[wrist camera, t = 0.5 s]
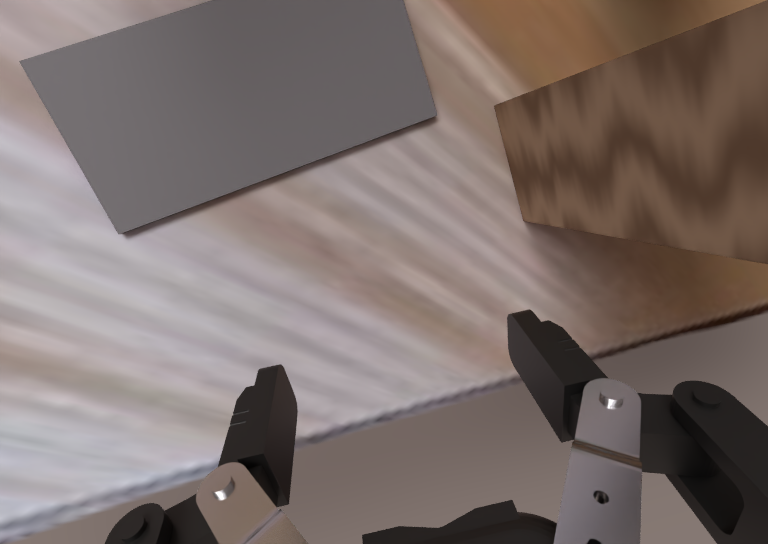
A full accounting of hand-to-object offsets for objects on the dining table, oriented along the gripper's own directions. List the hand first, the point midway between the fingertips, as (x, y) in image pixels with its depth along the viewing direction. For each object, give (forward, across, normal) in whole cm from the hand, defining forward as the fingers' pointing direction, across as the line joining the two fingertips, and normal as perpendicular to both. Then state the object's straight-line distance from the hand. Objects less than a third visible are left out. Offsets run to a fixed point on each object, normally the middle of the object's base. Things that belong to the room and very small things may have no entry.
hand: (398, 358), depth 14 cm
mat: (+27, +7, -9) cm, 29 cm away
